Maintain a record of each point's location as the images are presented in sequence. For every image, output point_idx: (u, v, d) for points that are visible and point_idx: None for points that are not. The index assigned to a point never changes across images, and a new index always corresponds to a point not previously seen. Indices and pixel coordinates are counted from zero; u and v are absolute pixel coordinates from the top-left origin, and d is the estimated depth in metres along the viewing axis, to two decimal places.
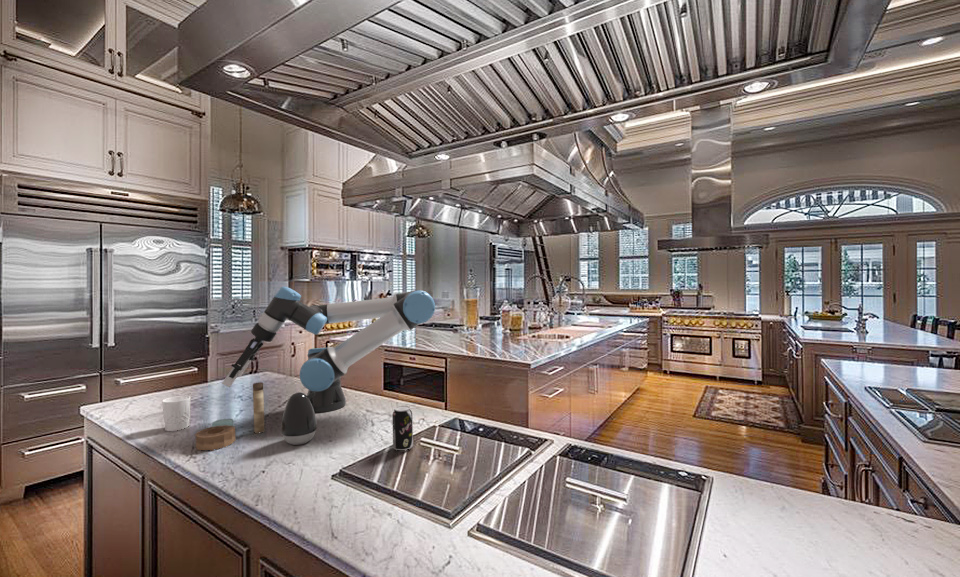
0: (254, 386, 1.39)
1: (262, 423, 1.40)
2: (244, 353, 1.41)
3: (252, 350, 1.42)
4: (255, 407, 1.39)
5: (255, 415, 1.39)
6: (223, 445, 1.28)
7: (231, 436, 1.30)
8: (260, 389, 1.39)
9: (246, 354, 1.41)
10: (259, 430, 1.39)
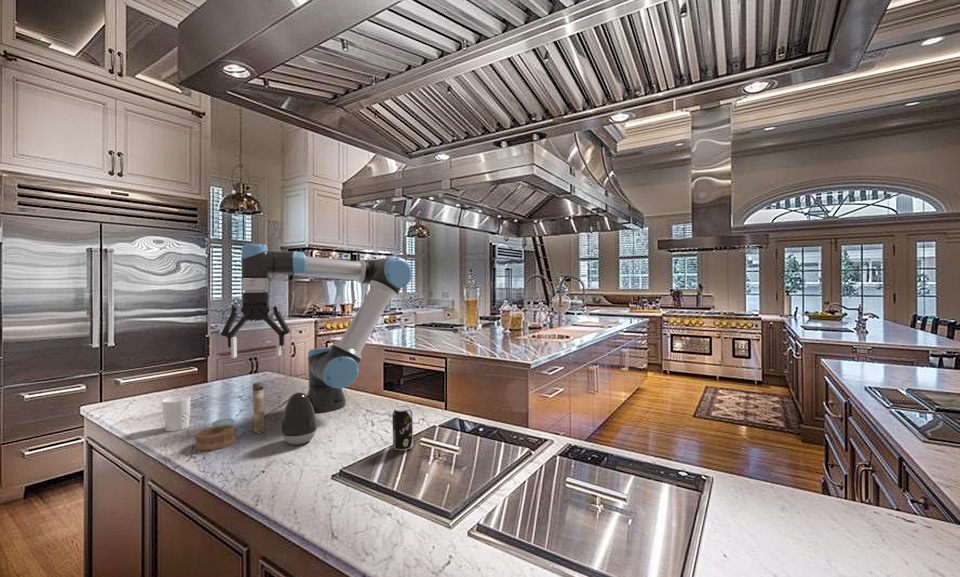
0: (254, 386, 1.39)
1: (262, 423, 1.40)
2: (281, 319, 1.41)
3: (279, 313, 1.42)
4: (255, 407, 1.39)
5: (255, 415, 1.39)
6: (223, 445, 1.28)
7: (231, 436, 1.30)
8: (260, 389, 1.39)
9: (282, 318, 1.41)
10: (259, 430, 1.39)
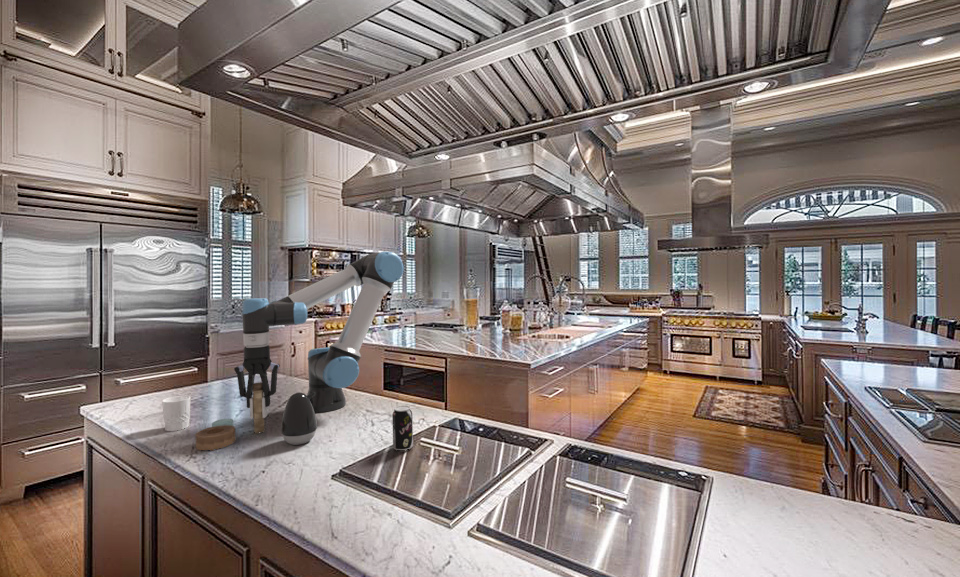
0: (254, 386, 1.39)
1: (262, 423, 1.40)
2: (275, 379, 1.40)
3: None
4: (255, 407, 1.39)
5: (255, 415, 1.39)
6: (223, 445, 1.28)
7: (231, 436, 1.30)
8: (260, 389, 1.39)
9: (276, 378, 1.41)
10: (259, 430, 1.39)
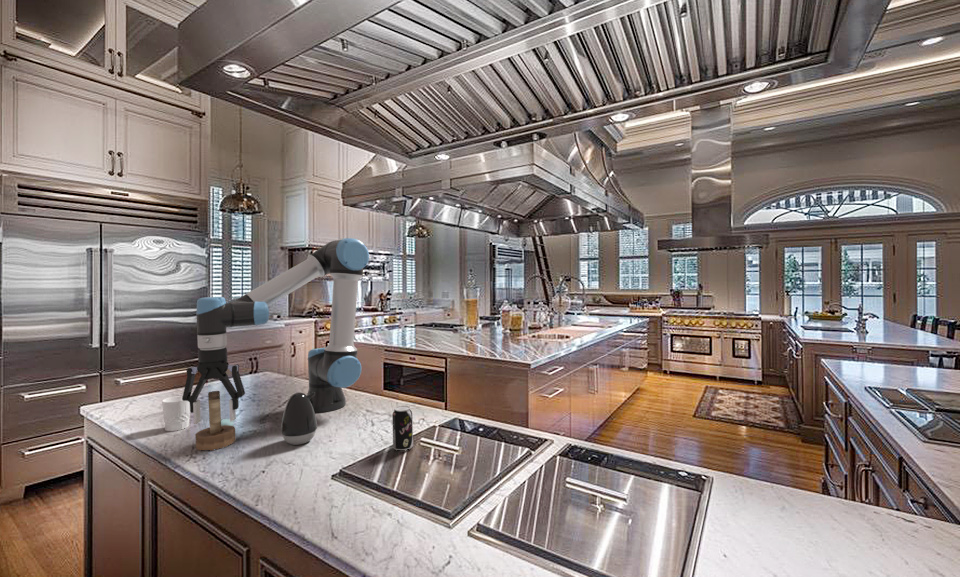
0: (209, 395, 1.29)
1: None
2: (238, 380, 1.31)
3: (238, 372, 1.32)
4: (211, 417, 1.29)
5: (211, 426, 1.29)
6: (223, 445, 1.28)
7: (231, 436, 1.30)
8: (216, 398, 1.29)
9: (239, 379, 1.32)
10: None
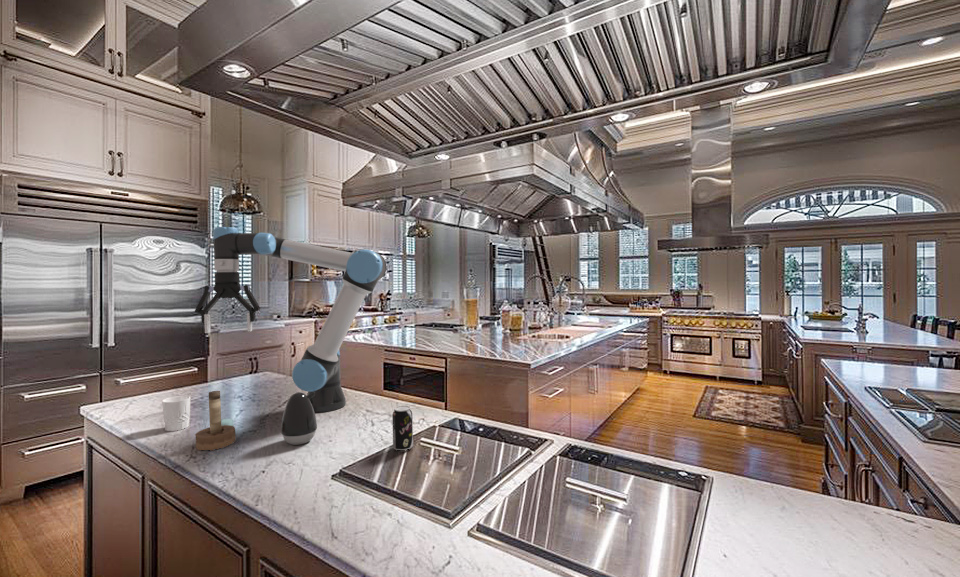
0: (210, 395, 1.29)
1: None
2: (252, 296, 1.51)
3: (250, 291, 1.53)
4: (211, 417, 1.29)
5: (211, 426, 1.29)
6: (223, 445, 1.28)
7: (231, 436, 1.30)
8: (216, 398, 1.29)
9: (252, 296, 1.52)
10: None
